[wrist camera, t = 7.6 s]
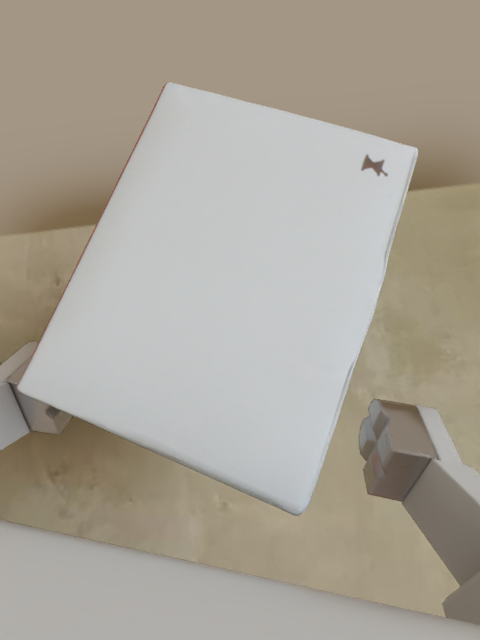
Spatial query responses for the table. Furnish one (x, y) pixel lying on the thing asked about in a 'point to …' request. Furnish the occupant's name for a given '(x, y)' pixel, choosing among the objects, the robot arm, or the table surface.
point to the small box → (228, 291)
